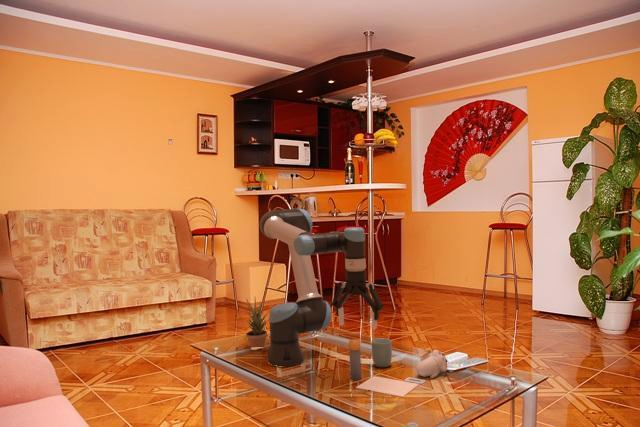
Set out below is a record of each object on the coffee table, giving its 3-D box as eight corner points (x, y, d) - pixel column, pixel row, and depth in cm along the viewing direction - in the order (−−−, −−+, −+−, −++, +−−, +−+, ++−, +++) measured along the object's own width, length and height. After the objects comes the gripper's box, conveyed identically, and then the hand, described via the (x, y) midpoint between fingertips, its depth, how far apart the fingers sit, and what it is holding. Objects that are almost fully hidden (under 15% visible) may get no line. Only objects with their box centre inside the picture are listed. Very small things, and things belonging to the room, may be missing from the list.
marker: (348, 379, 195) (346, 341, 195) (353, 375, 199) (352, 338, 198) (358, 381, 193) (356, 342, 192) (363, 377, 196) (362, 340, 196)
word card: (403, 381, 191) (403, 380, 191) (408, 377, 194) (408, 376, 194) (421, 384, 187) (421, 383, 187) (426, 380, 190) (426, 379, 190)
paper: (355, 388, 186) (355, 387, 186) (373, 376, 197) (373, 376, 197) (402, 397, 176) (402, 396, 176) (419, 384, 186) (419, 384, 186)
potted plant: (242, 350, 239) (239, 295, 238) (256, 344, 247) (253, 291, 246) (259, 353, 233) (256, 297, 232) (273, 347, 241) (270, 293, 240)
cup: (391, 369, 204) (390, 343, 204) (371, 369, 206) (370, 343, 205) (393, 363, 212) (392, 338, 211) (373, 362, 213) (372, 337, 213)
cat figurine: (418, 354, 191) (444, 341, 200) (405, 361, 197) (431, 348, 206) (431, 379, 188) (457, 365, 197) (418, 385, 194) (444, 371, 203)
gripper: (321, 269, 198) (323, 326, 199) (382, 272, 185) (384, 332, 186) (331, 266, 205) (333, 321, 205) (391, 269, 192) (393, 327, 193)
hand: (357, 327), depth 196 cm, fingers open, 13 cm apart
